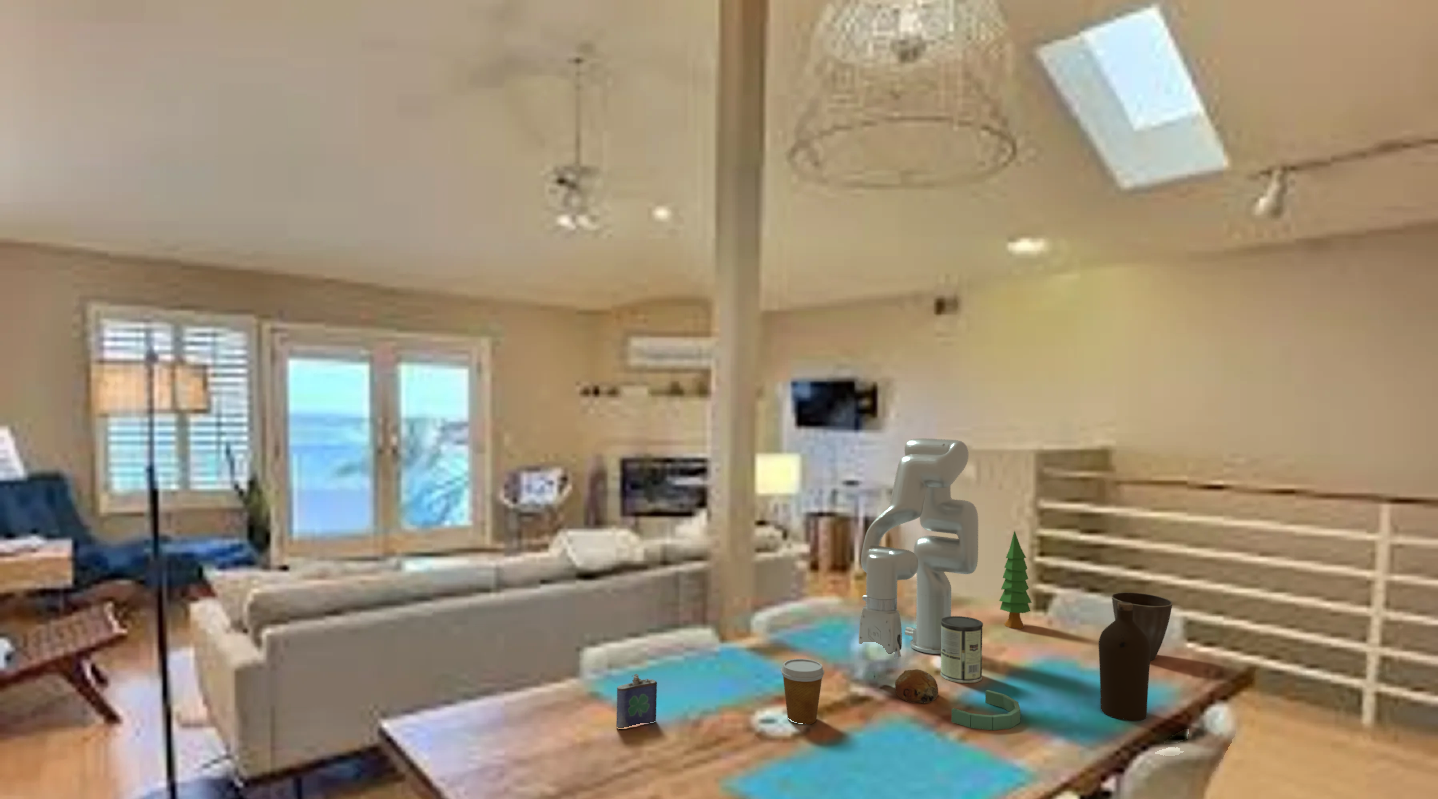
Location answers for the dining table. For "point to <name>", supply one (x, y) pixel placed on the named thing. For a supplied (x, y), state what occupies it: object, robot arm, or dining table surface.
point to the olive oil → (1124, 667)
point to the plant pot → (1147, 615)
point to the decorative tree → (1015, 585)
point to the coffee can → (961, 649)
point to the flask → (636, 702)
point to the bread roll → (916, 686)
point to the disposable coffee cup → (802, 689)
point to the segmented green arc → (990, 720)
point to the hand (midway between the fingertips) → (880, 677)
